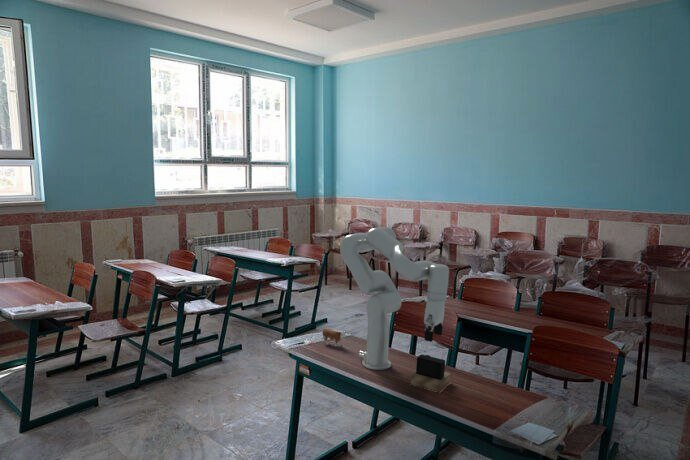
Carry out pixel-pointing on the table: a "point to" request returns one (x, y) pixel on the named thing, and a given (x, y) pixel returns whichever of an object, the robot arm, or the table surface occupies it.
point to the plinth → (430, 381)
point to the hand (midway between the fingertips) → (433, 337)
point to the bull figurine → (333, 336)
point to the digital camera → (430, 367)
